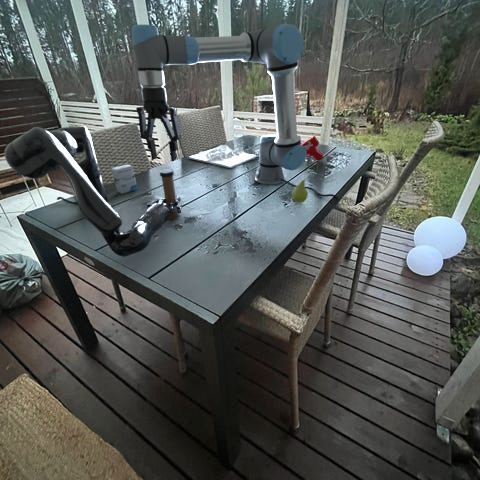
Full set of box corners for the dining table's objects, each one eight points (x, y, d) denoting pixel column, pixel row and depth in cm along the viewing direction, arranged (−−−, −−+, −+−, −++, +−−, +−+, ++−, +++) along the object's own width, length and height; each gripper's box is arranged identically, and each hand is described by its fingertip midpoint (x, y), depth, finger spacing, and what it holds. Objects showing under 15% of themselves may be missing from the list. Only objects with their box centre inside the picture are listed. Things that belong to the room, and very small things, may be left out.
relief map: (230, 168, 162) (230, 159, 159) (189, 158, 180) (188, 150, 177) (256, 157, 180) (256, 149, 177) (216, 149, 198) (215, 142, 195)
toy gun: (327, 155, 171) (314, 135, 167) (326, 157, 167) (314, 136, 164) (302, 170, 181) (290, 151, 177) (301, 172, 177) (288, 153, 174)
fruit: (288, 200, 123) (290, 174, 116) (302, 197, 125) (305, 172, 119) (296, 206, 118) (299, 179, 111) (310, 203, 120) (314, 177, 114)
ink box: (133, 186, 138) (127, 163, 132) (137, 189, 135) (132, 165, 129) (116, 191, 133) (110, 167, 127) (121, 194, 130) (114, 170, 124)
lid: (166, 171, 104) (165, 168, 104) (176, 174, 102) (176, 170, 102) (157, 175, 101) (156, 171, 100) (167, 178, 99) (166, 173, 98)
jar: (173, 213, 113) (166, 169, 103) (180, 215, 112) (174, 171, 102) (166, 217, 110) (158, 172, 100) (173, 219, 109) (166, 174, 99)
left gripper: (171, 209, 92) (189, 190, 106) (133, 206, 95) (156, 188, 109) (174, 228, 96) (191, 208, 111) (138, 225, 99) (159, 205, 113)
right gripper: (187, 86, 87) (193, 158, 100) (131, 85, 91) (144, 154, 103) (177, 88, 81) (185, 164, 93) (118, 87, 85) (134, 160, 97)
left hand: (173, 198), depth 110 cm, fingers closed on jar, 4 cm apart
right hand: (164, 159), depth 98 cm, fingers open, 7 cm apart
